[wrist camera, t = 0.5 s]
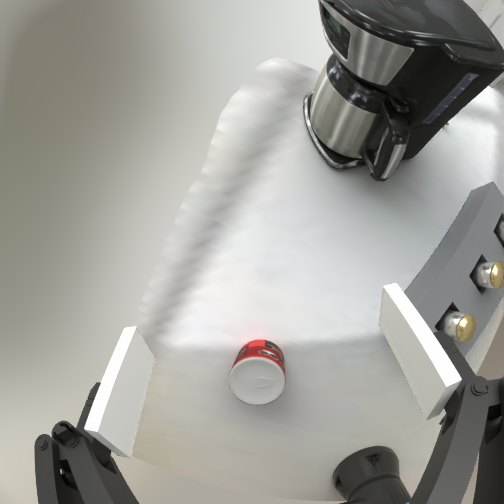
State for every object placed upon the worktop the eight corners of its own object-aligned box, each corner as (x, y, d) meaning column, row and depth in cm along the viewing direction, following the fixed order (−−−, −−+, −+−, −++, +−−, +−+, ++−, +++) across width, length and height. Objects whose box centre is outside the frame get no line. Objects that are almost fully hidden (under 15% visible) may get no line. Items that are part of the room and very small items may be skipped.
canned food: (288, 371, 46) (291, 398, 35) (245, 382, 46) (237, 410, 35) (277, 333, 46) (277, 351, 35) (233, 344, 47) (221, 364, 36)
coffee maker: (278, 113, 48) (275, -37, 15) (381, 57, 47) (424, -45, 14) (357, 203, 46) (471, 106, 13) (448, 127, 45) (533, 48, 12)
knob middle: (484, 273, 38) (509, 273, 30) (474, 291, 38) (499, 293, 30) (474, 257, 38) (499, 255, 31) (463, 275, 38) (488, 276, 31)
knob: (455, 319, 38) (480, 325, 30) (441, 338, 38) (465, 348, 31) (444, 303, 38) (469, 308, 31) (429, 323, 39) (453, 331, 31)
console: (506, 242, 42) (528, 239, 34) (429, 363, 43) (449, 375, 35) (471, 190, 44) (493, 181, 36) (385, 314, 45) (404, 322, 37)
